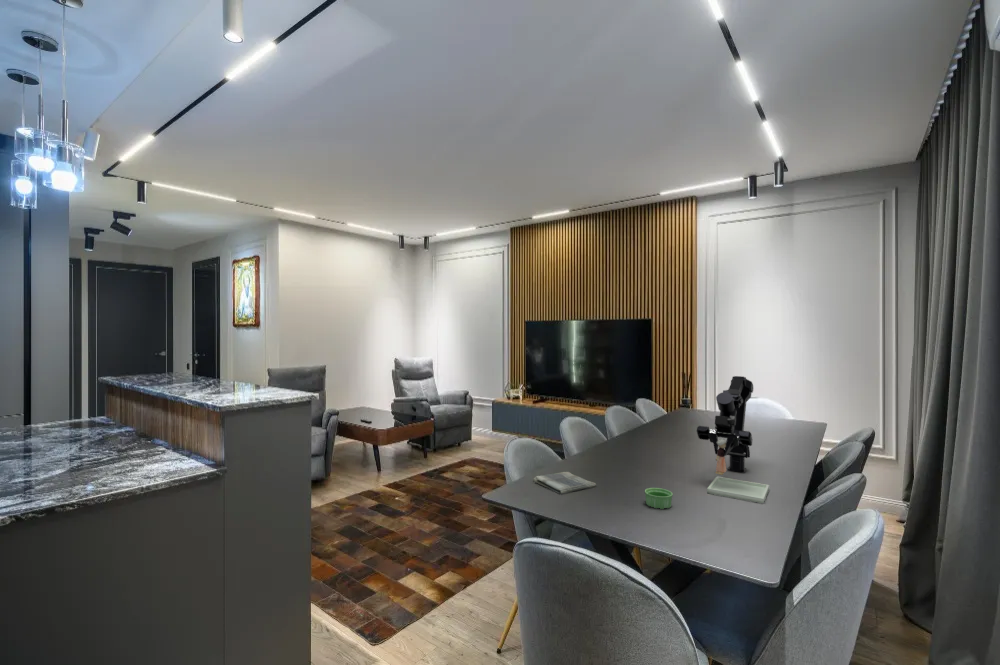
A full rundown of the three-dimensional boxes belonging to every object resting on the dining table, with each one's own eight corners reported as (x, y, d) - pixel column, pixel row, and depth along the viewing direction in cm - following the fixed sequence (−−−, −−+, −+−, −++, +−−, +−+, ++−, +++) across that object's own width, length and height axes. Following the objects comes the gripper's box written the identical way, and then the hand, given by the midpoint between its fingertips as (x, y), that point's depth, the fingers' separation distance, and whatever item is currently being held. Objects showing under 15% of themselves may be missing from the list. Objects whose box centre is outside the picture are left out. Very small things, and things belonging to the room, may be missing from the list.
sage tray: (716, 480, 189) (716, 476, 189) (769, 489, 178) (769, 485, 178) (707, 493, 174) (707, 488, 174) (763, 504, 164) (763, 498, 164)
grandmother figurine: (725, 476, 174) (727, 441, 174) (713, 474, 176) (715, 440, 176) (727, 471, 181) (728, 437, 180) (715, 469, 183) (717, 436, 182)
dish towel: (598, 488, 180) (598, 479, 180) (560, 496, 171) (560, 487, 171) (566, 475, 196) (566, 467, 196) (530, 482, 186) (530, 473, 186)
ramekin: (638, 502, 164) (639, 489, 164) (660, 499, 168) (660, 486, 168) (656, 511, 156) (656, 498, 156) (678, 508, 159) (678, 494, 159)
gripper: (697, 404, 187) (690, 438, 178) (751, 409, 176) (745, 446, 167) (702, 421, 193) (695, 455, 185) (754, 427, 182) (749, 463, 174)
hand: (720, 454), depth 177 cm, fingers closed on grandmother figurine, 3 cm apart
